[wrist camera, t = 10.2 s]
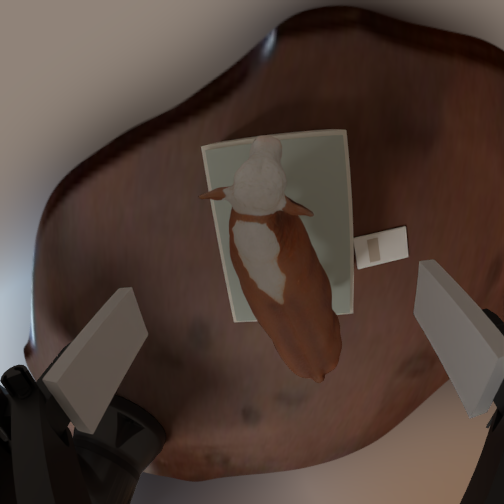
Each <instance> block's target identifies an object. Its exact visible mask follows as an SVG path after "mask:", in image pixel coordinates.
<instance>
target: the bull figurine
mask: <svg viewBox="0 0 504 504" xmlns="http://www.w3.org/2000/svg"><path fill="white" fill-rule="evenodd" d="M281 158H282V145H281V142H280V140H279V139H277V138H275V137H271V136H266V135H260V136H258V137H257V138H256V139H255V140H254V141H253V143H252V145H251V149H250V152H249V159H248V160H247V161H245V162H244V163H243V164H242V165H241V167H240V168H239V169H238V170H237V171H236V172H235V175H234V183H233V185H232V186H229V187H220V188H216V189H214V190H211V191H209V192H207V193H205V194H202V195H200V196H198V197H199V198H200V199H212V200H227V201H229V202H230V203H231V205H232V209H231V213H230V219H229V235H230V237H229V248H230V258H231V261H232V264H233V267H234V269H235V271H236V274H237V276H238V278H239V281H240V285H241V289H242V291H243V294H244V296H245V298H246V300H247V302H248V304H249V306H250V308H251V310H252V313H253V314H254V316H255V318H256V319H257V321H258V322H259V323H260V325H261V326H262V327H263V329H264V330H265V331H266V333H267V334H268V335H269V337H270V338H271V339H272V340H273V343H274V346H275V348H276V350H277V352H278V353H279V355H280V356H281V358H282V360H283V361H284V362H285V364H286V365H287V366H288V367H289V369H291V370H292V371H293V372H294V373H295V374H296V375H298V376H300V377H302V378H312V379H313V380H314V381H315V382H317V383H321V382H322V381H323V380H324V378H325V374H327V373H329V372H331V371H332V370H333V369H335V367H336V366H337V364H338V361H339V356H340V352H341V348H342V340H341V336H340V324H339V319H338V317H337V315H336V313H335V312H334V311H333V310H332V290H331V285H330V281H329V278H328V276H327V274H326V272H325V270H324V269H323V267H322V265H321V264H320V262H319V259H318V257H317V254H316V252H315V250H314V248H313V246H312V244H311V241H310V238H309V235H308V233H307V231H306V228H305V226H304V224H303V222H302V220H301V219H300V217H299V216H298V215H306V216H309V217H312V216H314V213H313V212H312V211H310V210H309V209H308V208H306V207H305V206H303V205H301V204H299V203H296V202H295V201H293V200H292V199H290V198H289V197H287V196H286V195H285V194H284V191H285V189H286V186H287V180H286V174H285V172H284V170H283V168H282V165H281Z"/></svg>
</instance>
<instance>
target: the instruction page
mask: <svg viewBox="0 0 504 504" xmlns="http://www.w3.org/2000/svg"><path fill="white" fill-rule="evenodd" d="M353 242H354V248H355V255H356V261H357V268H358V269H361V268H366V267H370V266H374V265H378V264H382V263H387V262H391V261H395V260H399V259H403V258H407V257H408V245H407V234H406V226H403V227H398V228H394V229H390V230H385V231H381V232H377V233H372V234H368V235H363V236H359V237H355V238H353Z"/></svg>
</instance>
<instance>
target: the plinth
mask: <svg viewBox="0 0 504 504" xmlns="http://www.w3.org/2000/svg"><path fill="white" fill-rule="evenodd" d="M266 136H271V137H275V138H277V139H279V140H280V142H281V145H282V158H281V165H282V168H283V170H284V172H285V174H286V180H287V186H286V189H285V191H284V194H285V195H286V196H287V197H289V198H290V199H292V200H293V201H295V202H296V203H299V204H301V205H303V206H305V207H306V208H308V209H309V210H310V211H312V212H313V213H314V216H312V217H309V216H306V215H298V216H299V217H300V219H301V220H302V222H303V224H304V226H305V228H306V231H307V233H308V235H309V238H310V241H311V244H312V246H313V248H314V250H315V252H316V254H317V257H318V259H319V262H320V264H321V265H322V267H323V269H324V270H325V272H326V274H327V276H328V278H329V281H330V285H331V290H332V310H333V311H334V312H335V313H336V315H341V314H351V313H353V292H354V243H353V211H352V192H351V176H350V163H349V152H348V141H347V132H346V130H340V129H326V130H312V131H301V132H290V133H281V134H272V135H266ZM257 137H258V136H256V137H248V138H241V139H234V140H228V141H221V142H217V143H213V144H209V145H205V146H201V149H202V155H203V161H204V167H205V173H206V179H207V184H208V190H209V191H211V190H214V189H216V188H220V187H229V186H232V185H233V183H234V175H235V172H236V171H237V170H238V169H239V168H240V167H241V165H242V164H243V163H244V162H245V161H247V160H248V159H249V152H250V149H251V145H252V143H253V141H254V140H255V139H256V138H257ZM210 201H211V207H212V212H213V218H214V223H215V229H216V234H217V239H218V245H219V250H220V255H221V260H222V265H223V271H224V276H225V281H226V286H227V291H228V296H229V300H230V305H231V310H232V315H233V320H234V322H250V321H257V319H256V318H255V316H254V314H253V313H252V310H251V308H250V306H249V304H248V302H247V300H246V298H245V296H244V294H243V291H242V289H241V285H240V281H239V278H238V276H237V274H236V271H235V269H234V267H233V264H232V261H231V258H230V248H229V237H230V235H229V219H230V213H231V209H232V205H231V203H230V202H229V201H227V200H212V199H210Z"/></svg>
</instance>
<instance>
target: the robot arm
mask: <svg viewBox="0 0 504 504" xmlns="http://www.w3.org/2000/svg"><path fill="white" fill-rule="evenodd" d="M413 314H414V316H415V317H416V319H417V321H418V322H419V324H420V326H421V327H422V329H423V331H424V332H425V334H426V336H427V338H428V339H429V341H430V343H431V345H432V346H433V348H434V350H435V352H436V354H437V355H438V357H439V359H440V361H441V363H442V364H443V366H444V368H445V370H446V372H447V374H448V376H449V378H450V379H451V381H452V383H453V385H454V387H455V389H456V391H457V393H458V395H459V397H460V399H461V401H462V403H463V405H464V408H465V410H466V412H467V414H468V416H469V418H473V417H476V416H478V415H481V414H484V413H486V412H487V411H488V409H489V408H490V406H491V404H492V402H493V401H494V403H495V404H496V406H497V409H496V411H495V413H494V414H493V416H492V418H491V420H490V421H489V423H488V424H487V426H486V428H489V426H490V425H491V426H490V429H489V432H488V436H487V438H486V441H485V445H484V447H483V450H482V453H481V456H480V458H479V461H478V463H477V466H476V469H475V471H474V473H473V476H472V478H471V481H470V483H469V486H468V487H467V490H466V492H465V494H464V496H463V498H462V501H461V503H460V504H504V322H503V321H502V320H501V319H500V318H499V317H498V316H497V315H496V314H495V313H493V312H491V311H490V310H488V309H483V310H481V309H480V307H479V306H478V305H477V304H476V303H475V302H474V301H473V300H472V299H471V297H470V296H469V295H468V294H467V293H466V292H465V291H464V290H463V289H462V288H461V287H460V286H459V285H458V283H457V282H456V281H455V280H454V279H453V278H452V277H451V276H450V275H449V274H448V273H447V272H446V271H445V270H444V269H443V268H442V267H441V266H440V265H439V264H438V263H437V262H436V261H435V260H434V259H433V260H425V261H419V271H418V281H417V290H416V298H415V306H414V313H413ZM148 335H149V334H148V332H147V329H146V326H145V323H144V321H143V318H142V315H141V312H140V309H139V307H138V304H137V301H136V298H135V295H134V292H133V289H132V287H128V288H118V290H117V291H116V292H115V293H114V294H113V295H112V296H111V297H110V298H109V300H108V301H107V302H106V303H105V304H104V305H103V306H102V308H101V309H100V310H99V311H98V312H97V313H96V314H95V316H94V317H93V318H92V319H91V320H90V321H89V322H88V324H87V325H86V326H85V327H84V328H83V330H82V331H81V332H80V333H79V334H78V335H77V337H76V338H75V339H74V340H73V341H72V342H71V343H69V344H68V345H67V346H65V347H64V348H63V349H62V351H61V352H60V353H59V354H58V357H56V358H55V359H54V360H53V363H51V364H50V365H49V367H48V368H47V369H46V370H45V372H44V373H43V374H42V375H41V377H40V378H39V379H38V381H37V382H35V380H34V379H33V377H32V376H31V374H30V372H29V371H28V369H27V368H26V367H25V366H24V365H16V366H13V367H12V368H10V369H8V370H7V371H6V372H5V373H4V374H3V375H2V377H1V380H0V381H1V383H2V384H3V386H4V387H5V388H4V387H2V386H1V385H0V504H130V503H131V500H132V497H133V494H134V491H135V489H136V486H137V483H138V480H139V477H140V475H141V473H142V472H143V471H144V470H145V469H146V468H147V467H148V465H149V464H150V463H151V462H152V461H153V460H154V459H155V457H156V456H157V455H158V454H159V453H160V452H161V451H162V449H163V446H164V443H165V440H166V434H165V431H164V429H163V428H162V426H161V425H160V424H159V423H158V421H157V420H156V419H155V418H153V417H152V416H151V415H150V414H149V413H147V412H146V411H145V410H143V409H142V408H140V407H139V406H137V405H135V404H134V403H132V402H130V401H128V400H126V399H124V398H121V397H119V396H116V395H114V394H115V392H116V391H117V389H118V387H119V385H120V383H121V382H122V380H123V378H124V376H125V375H126V373H127V371H128V369H129V367H130V366H131V364H132V362H133V360H134V359H135V357H136V355H137V353H138V352H139V350H140V348H141V347H142V345H143V343H144V341H145V340H146V338H147V336H148ZM70 421H71V422H72V424H73V425H74V426H75V428H74V434H73V438H72V434H71V432H70V430H69V428H68V427H67V426H68V424H69V423H70Z"/></svg>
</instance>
